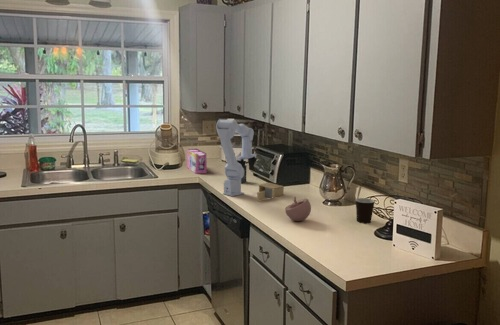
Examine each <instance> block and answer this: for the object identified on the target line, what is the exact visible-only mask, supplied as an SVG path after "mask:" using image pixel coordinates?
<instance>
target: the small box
mask: <svg viewBox="0 0 500 325" xmlns="http://www.w3.org/2000/svg"><path fill="white" fill-rule="evenodd" d="M244 183H247V165H246V164H245V170H244V176H243V178H241V184H244Z"/></svg>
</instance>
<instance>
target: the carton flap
mask: <svg viewBox="0 0 500 325" xmlns="http://www.w3.org/2000/svg"><path fill="white" fill-rule="evenodd" d="M273 198H275V197H274V189H272V188H268V187H265V191H263V192H259V191H258V192H257V200H256V201H258V202H259V201H264V200H268V199H271V200H272V199H273Z"/></svg>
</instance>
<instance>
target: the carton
mask: <svg viewBox="0 0 500 325" xmlns="http://www.w3.org/2000/svg"><path fill="white" fill-rule="evenodd" d="M265 187H268V188H272V189H274V198H276V197H280V196H284V193H285V192H284V185H279V184H277V183H272V182H266V183H260V184H258V192H263V191H265Z"/></svg>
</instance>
